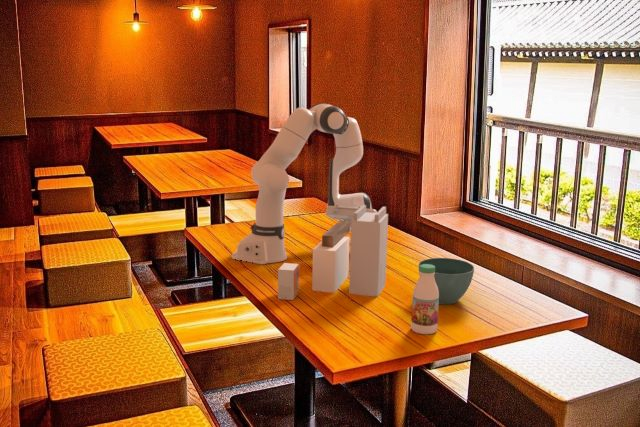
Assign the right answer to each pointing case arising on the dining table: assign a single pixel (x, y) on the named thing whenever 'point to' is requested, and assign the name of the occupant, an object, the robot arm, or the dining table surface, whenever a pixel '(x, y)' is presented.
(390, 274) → the dining table surface
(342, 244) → the block
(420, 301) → the milk bottle
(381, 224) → the stand
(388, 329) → the dining table surface
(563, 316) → the dining table surface
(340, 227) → the rod
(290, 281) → the small box
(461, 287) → the green bowl
